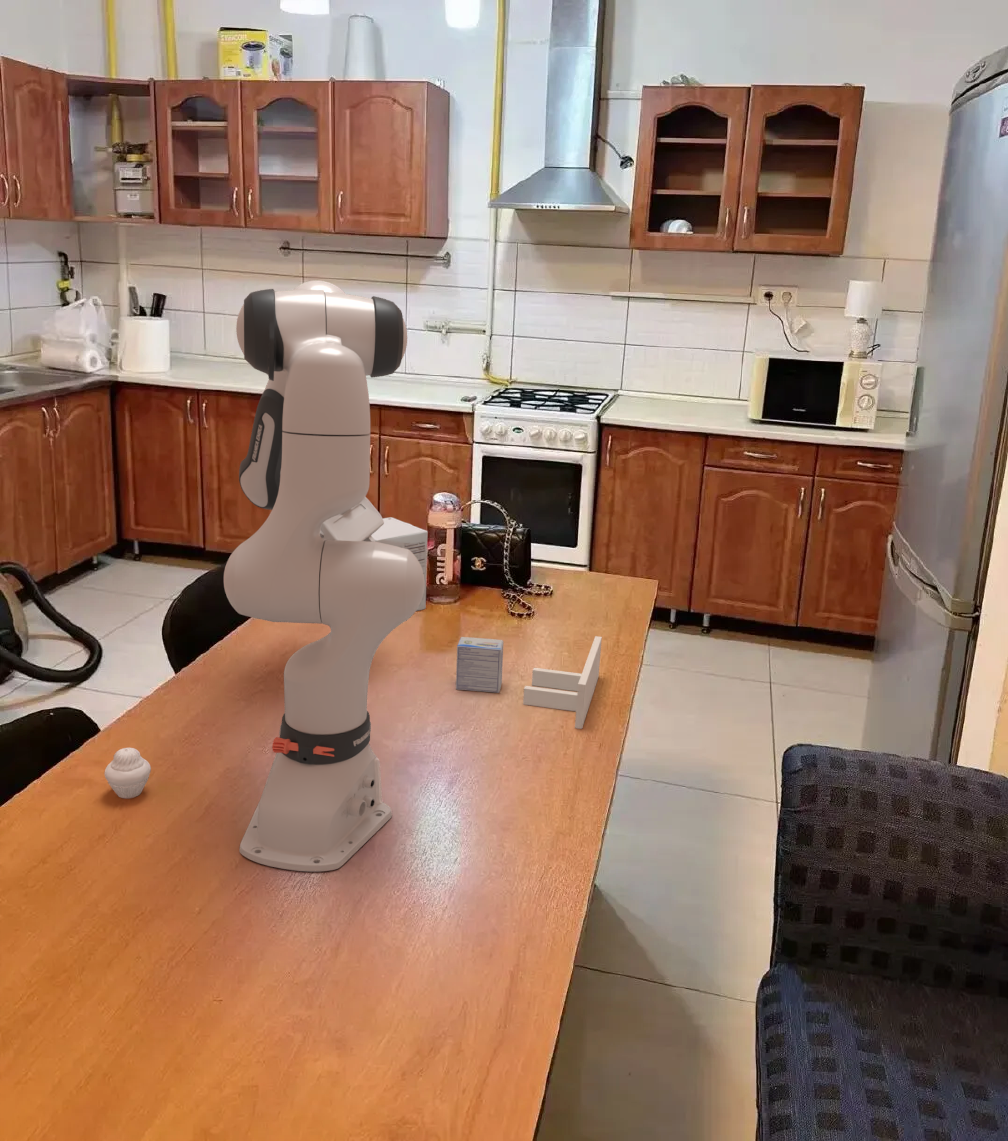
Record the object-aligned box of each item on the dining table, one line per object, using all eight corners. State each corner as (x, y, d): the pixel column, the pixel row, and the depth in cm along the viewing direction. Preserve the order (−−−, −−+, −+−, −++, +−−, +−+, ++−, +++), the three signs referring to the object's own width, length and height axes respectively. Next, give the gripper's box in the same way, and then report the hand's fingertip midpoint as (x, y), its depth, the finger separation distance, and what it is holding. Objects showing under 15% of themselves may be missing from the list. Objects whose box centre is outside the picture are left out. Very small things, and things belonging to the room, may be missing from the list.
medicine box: (502, 683, 190) (504, 639, 187) (499, 694, 185) (501, 648, 183) (458, 680, 190) (460, 635, 187) (455, 690, 186) (456, 645, 183)
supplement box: (340, 603, 225) (340, 524, 220) (391, 591, 234) (392, 516, 228) (376, 621, 216) (377, 540, 210) (427, 609, 224) (429, 530, 219)
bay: (582, 728, 174) (585, 684, 171) (515, 719, 176) (518, 676, 173) (598, 676, 194) (601, 636, 192) (539, 669, 196) (541, 629, 194)
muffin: (160, 793, 149) (158, 749, 146) (120, 809, 144) (117, 763, 142) (137, 777, 152) (134, 734, 150) (97, 792, 148) (94, 747, 146)
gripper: (316, 506, 172) (372, 569, 174) (358, 479, 192) (408, 536, 193) (291, 529, 175) (346, 591, 176) (335, 500, 194) (385, 556, 195)
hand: (379, 562), depth 185 cm, fingers closed
